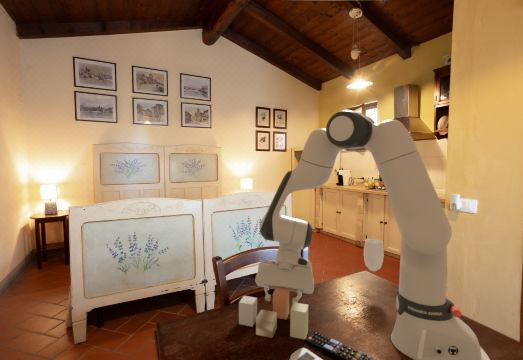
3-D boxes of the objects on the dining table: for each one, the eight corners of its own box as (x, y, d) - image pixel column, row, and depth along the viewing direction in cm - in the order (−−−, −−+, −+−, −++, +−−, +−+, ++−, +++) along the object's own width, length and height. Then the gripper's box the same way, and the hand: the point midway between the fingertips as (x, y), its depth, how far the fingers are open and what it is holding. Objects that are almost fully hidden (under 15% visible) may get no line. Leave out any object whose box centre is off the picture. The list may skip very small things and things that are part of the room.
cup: (384, 293, 105) (386, 240, 104) (379, 300, 100) (381, 244, 98) (365, 287, 110) (367, 237, 108) (359, 294, 104) (361, 241, 103)
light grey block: (257, 318, 88) (257, 297, 87) (252, 326, 83) (252, 304, 83) (244, 316, 89) (244, 295, 89) (238, 324, 85) (238, 302, 84)
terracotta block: (289, 312, 92) (289, 289, 91) (286, 319, 87) (286, 295, 87) (276, 310, 93) (276, 287, 93) (272, 317, 89) (272, 293, 88)
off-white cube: (276, 328, 83) (276, 312, 83) (272, 338, 78) (272, 321, 78) (261, 325, 84) (261, 309, 84) (255, 334, 80) (255, 318, 79)
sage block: (308, 330, 82) (308, 304, 81) (305, 339, 77) (306, 312, 77) (293, 327, 83) (293, 302, 83) (290, 336, 79) (290, 309, 78)
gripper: (258, 255, 99) (248, 294, 90) (315, 262, 93) (310, 304, 84) (261, 263, 103) (253, 300, 95) (316, 270, 97) (312, 310, 88)
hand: (280, 302), depth 89 cm, fingers open, 8 cm apart
